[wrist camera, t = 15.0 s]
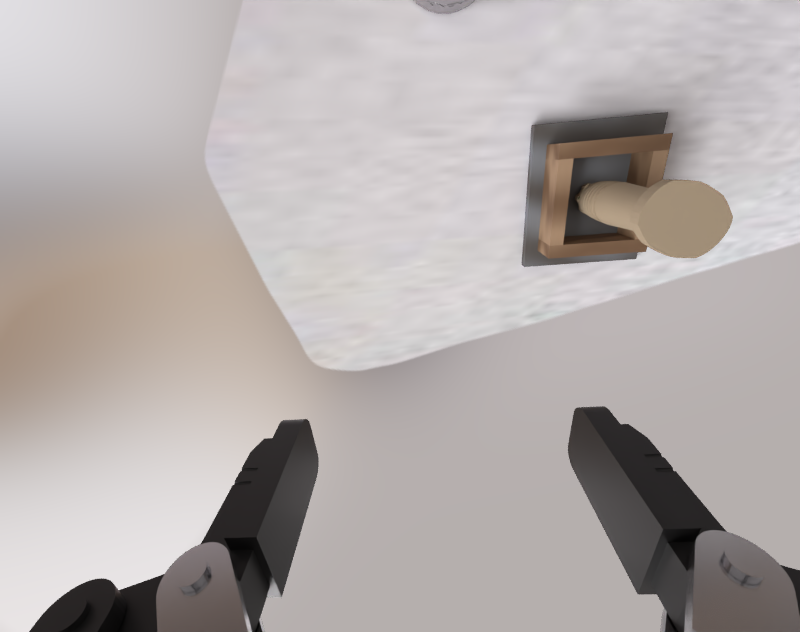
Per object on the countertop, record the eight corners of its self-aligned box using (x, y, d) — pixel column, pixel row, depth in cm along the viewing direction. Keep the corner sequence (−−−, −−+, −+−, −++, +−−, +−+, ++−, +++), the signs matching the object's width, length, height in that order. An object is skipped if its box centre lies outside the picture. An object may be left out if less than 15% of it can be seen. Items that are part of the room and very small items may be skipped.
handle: (579, 161, 36) (675, 165, 22) (627, 189, 37) (748, 210, 23) (550, 204, 38) (623, 231, 24) (597, 230, 39) (693, 270, 25)
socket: (531, 125, 36) (547, 121, 31) (661, 113, 35) (694, 107, 31) (521, 264, 42) (533, 276, 38) (631, 256, 41) (655, 267, 37)
